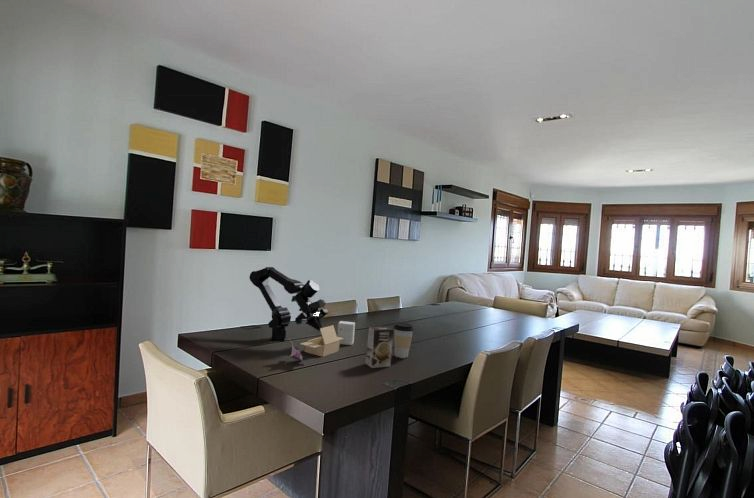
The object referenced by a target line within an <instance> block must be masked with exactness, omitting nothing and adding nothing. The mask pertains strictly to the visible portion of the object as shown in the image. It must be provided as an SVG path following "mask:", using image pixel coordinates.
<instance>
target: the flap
mask: <svg viewBox="0 0 754 498" xmlns="http://www.w3.org/2000/svg"><path fill="white" fill-rule="evenodd" d="M320 331H321V332H320ZM320 331H319V332H320V333H321V337H322V338H323V341H324V344H325V345H326V344H329V343H333V342H336V341H338V338H337V332H336V330H335V327H334V325H332V324H331V325H329V326H325V327H322V328H320Z"/></svg>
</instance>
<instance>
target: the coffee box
mask: <svg viewBox="0 0 754 498" xmlns="http://www.w3.org/2000/svg"><path fill="white" fill-rule="evenodd" d="M394 332H395V329H394V328H392V327H388V326H369V327H368V335H367V344H366V345H367V346H366V353H365V355H366V357H365V365H367V366H368V367H370V368H371V369H375V368H376V369H377V368H388V367H389V368H390V367H391V363H392V362H391V361H392V352H393V350H392V349H393V341H394V339H393V338H394Z"/></svg>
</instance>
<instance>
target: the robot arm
mask: <svg viewBox="0 0 754 498" xmlns="http://www.w3.org/2000/svg"><path fill="white" fill-rule="evenodd" d="M269 278H271V279H272V280H274V281H275V282H276V283H278V284H280V285H282V286H283V289H284V290H285V291H286V292H287V293H288V294H290V295H292V296H291V297H292V298H291V300H290V301H291V302H295V303H296V304H297V305H298V307H299V309H298V311H299V312H300V313H299V314H298V315H297V316H296V317H295V318H294V319H295V324H296V325H301V324H302V323H303V321H304V320H306V322H305V324H306V325H308V326H310V327H312V328H313V329H316V330H317V331H318V332H320V333H321V331H320V328H323V327H322V321H321V320H322V319H323V318H324V317H326V315H328V314H329V310H328V309H327V308H325V305H326V301H325V299H324V298H320V299H318V300H317V301H311V299H312V297H314V296H315V295H316V294H317V293H318V292H319V291H320V289H321V288H320V285H319V284H318V283H316V282H315V281H313V280H312V279H308V280H307V281H306V283H305V284H303V282H302V281H300V280H298V279H293V278H290V277H288V276H287V275H285V274H284V273H282V272H280V271H279V270H277V269H276V268H275V267H273V266H266V267H264V268H262V269H259V270H253V271H252V272H250V274H249V281H250V282H251V284H252V285H253V286H255V287H257V288H258V289H259V291H260V292H261V295H262V296H263V298H264V300H265V301H266V303H267V305H268V307H269V309H270V310H271V318H272V319H271V320H270V321H269V322H268V328H270V329H271V333H270V341H272V342H277V341H278V342H279V341H280V342H284V341H286V337H287V330H286V327H287V328H288V327H289V324H290V322H291V318H292V316H291V312H290V311H289V309H288V308H287V306H286V307H283V306H281V303H280V302H279V300H278V298H277V297H276V295H275V294H274V292H273V290H272V289H271V287H270V285H269ZM294 294H295V295H294Z"/></svg>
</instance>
